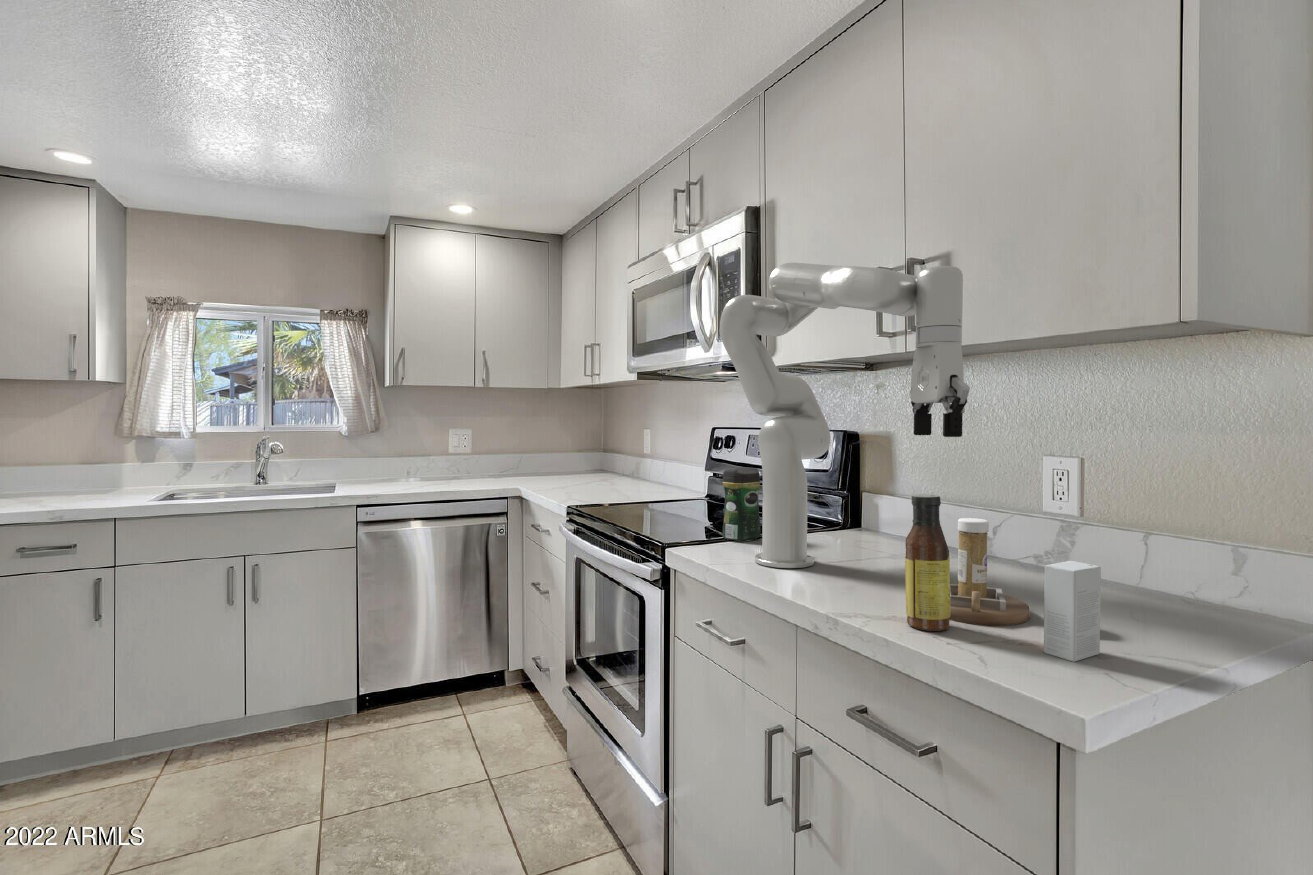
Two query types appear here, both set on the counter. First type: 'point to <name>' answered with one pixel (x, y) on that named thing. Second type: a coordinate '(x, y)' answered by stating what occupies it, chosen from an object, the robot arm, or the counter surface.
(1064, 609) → the skincare box
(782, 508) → the robot arm
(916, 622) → the sauce bottle
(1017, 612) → the brown piece
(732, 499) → the coffee jar
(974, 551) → the spice jar
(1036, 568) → the counter surface
